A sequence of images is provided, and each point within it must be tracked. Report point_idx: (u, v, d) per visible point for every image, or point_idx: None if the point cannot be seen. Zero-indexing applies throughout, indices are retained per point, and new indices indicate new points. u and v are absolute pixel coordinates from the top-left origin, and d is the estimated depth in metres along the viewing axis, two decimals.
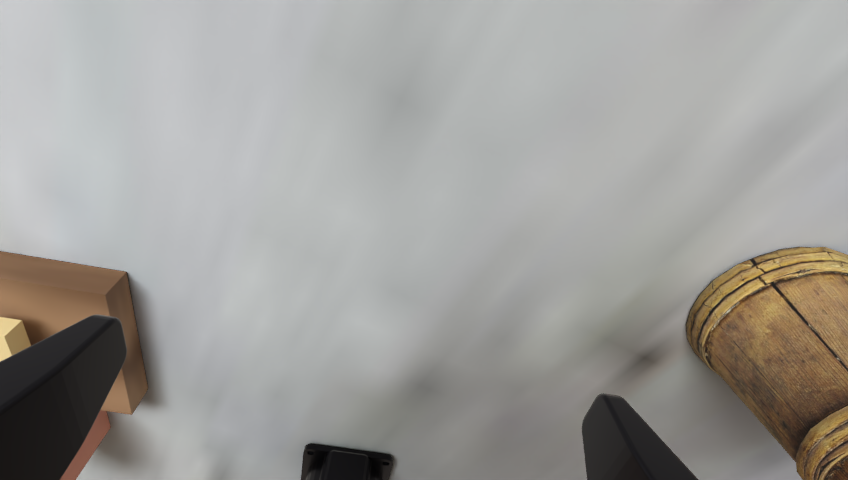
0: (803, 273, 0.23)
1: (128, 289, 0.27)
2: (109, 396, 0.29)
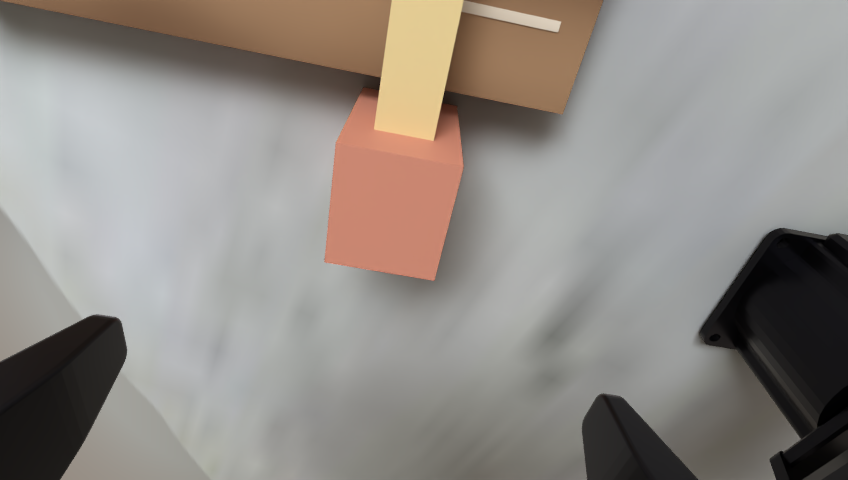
0: None
1: None
2: (543, 60, 0.15)
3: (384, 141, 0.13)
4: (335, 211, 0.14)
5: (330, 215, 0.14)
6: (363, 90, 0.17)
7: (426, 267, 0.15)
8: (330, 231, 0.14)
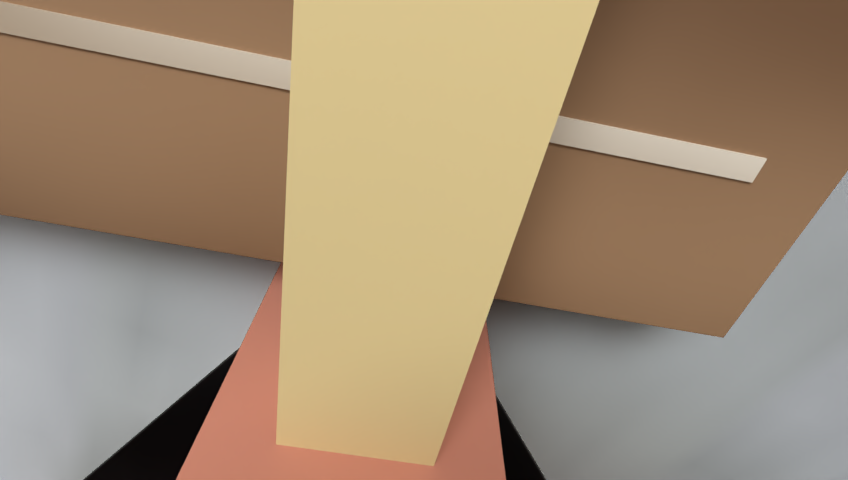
0: None
1: None
2: (702, 237, 0.06)
3: None
4: None
5: None
6: None
7: None
8: None
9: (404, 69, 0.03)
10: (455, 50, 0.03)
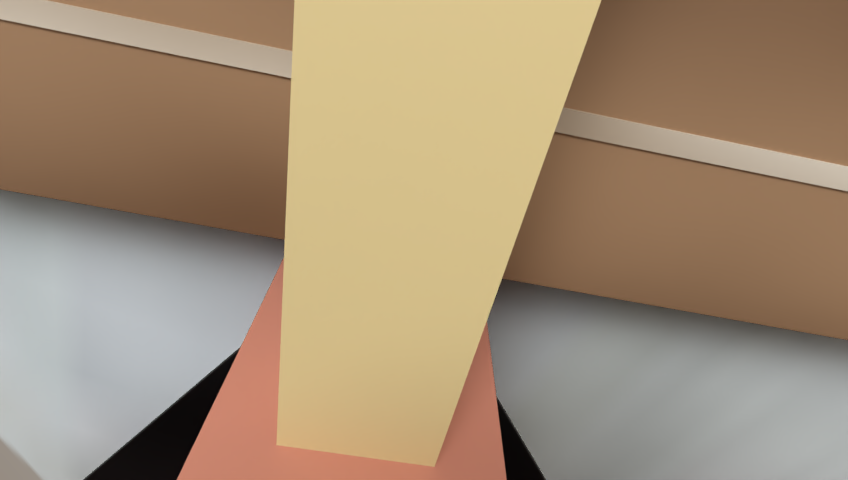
0: None
1: None
2: None
3: None
4: None
5: None
6: None
7: None
8: None
9: (405, 69, 0.03)
10: (455, 50, 0.03)
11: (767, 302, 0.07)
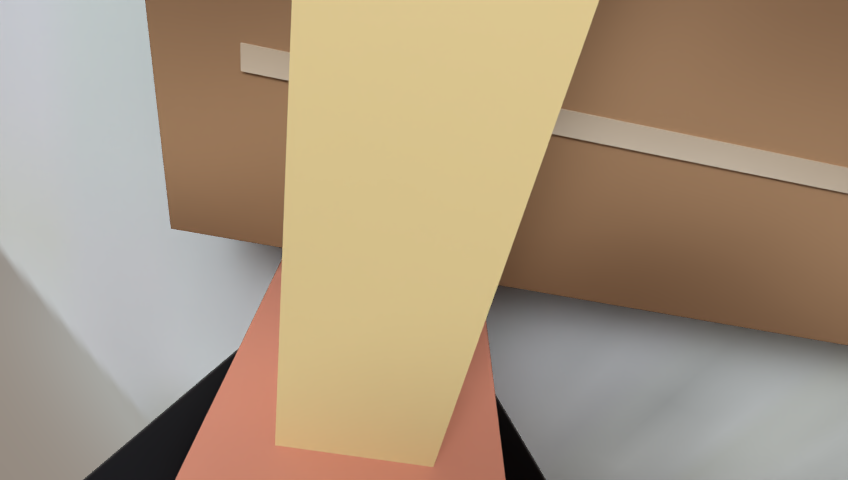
0: None
1: None
2: None
3: None
4: None
5: None
6: None
7: None
8: None
9: (403, 69, 0.03)
10: (454, 49, 0.03)
11: None
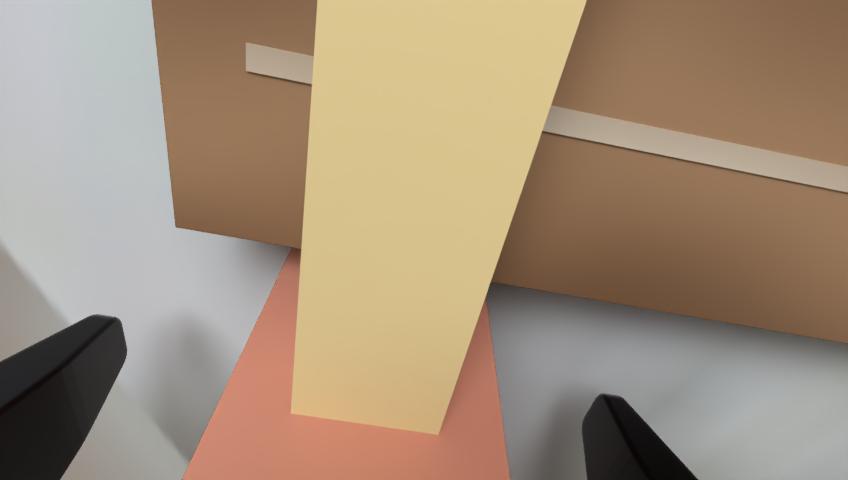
0: None
1: None
2: None
3: (309, 475, 0.05)
4: None
5: None
6: None
7: None
8: None
9: (415, 57, 0.03)
10: (460, 39, 0.03)
11: None
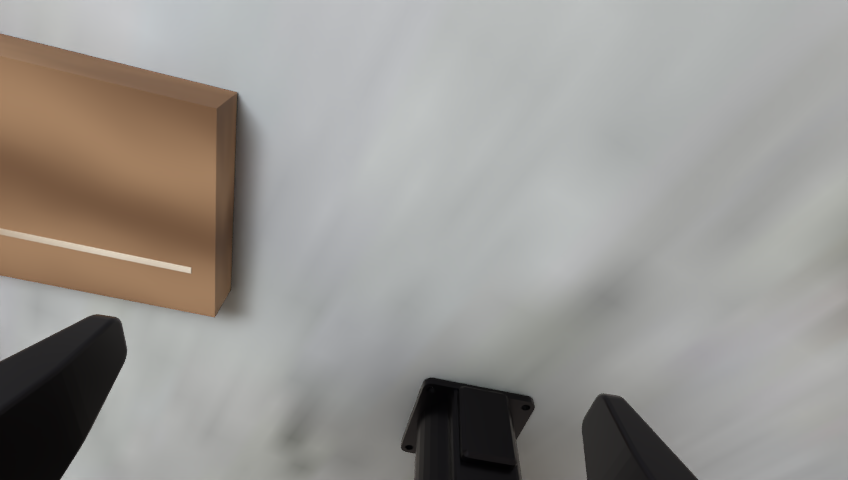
0: None
1: (235, 122, 0.19)
2: (188, 287, 0.21)
3: None
4: None
5: None
6: None
7: None
8: None
9: None
10: None
11: (82, 284, 0.21)
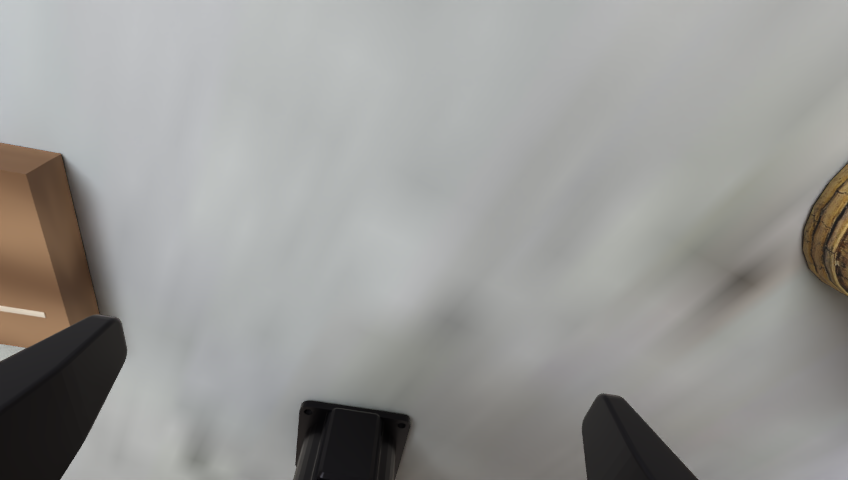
0: None
1: (66, 179, 0.20)
2: (47, 329, 0.23)
3: None
4: None
5: None
6: None
7: None
8: None
9: None
10: None
11: None
